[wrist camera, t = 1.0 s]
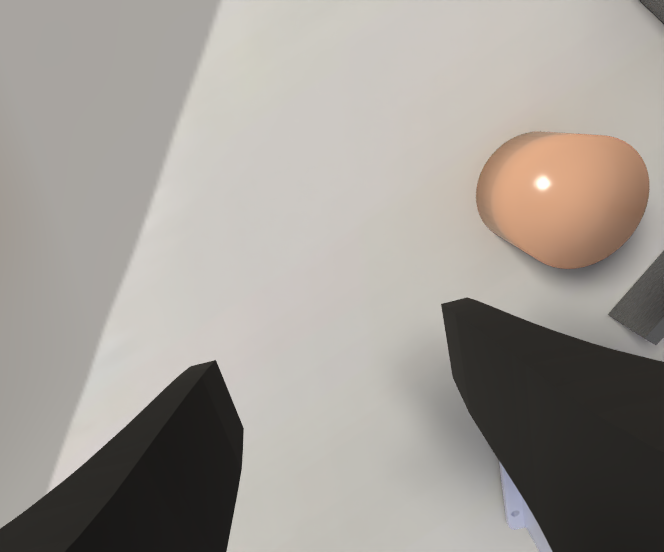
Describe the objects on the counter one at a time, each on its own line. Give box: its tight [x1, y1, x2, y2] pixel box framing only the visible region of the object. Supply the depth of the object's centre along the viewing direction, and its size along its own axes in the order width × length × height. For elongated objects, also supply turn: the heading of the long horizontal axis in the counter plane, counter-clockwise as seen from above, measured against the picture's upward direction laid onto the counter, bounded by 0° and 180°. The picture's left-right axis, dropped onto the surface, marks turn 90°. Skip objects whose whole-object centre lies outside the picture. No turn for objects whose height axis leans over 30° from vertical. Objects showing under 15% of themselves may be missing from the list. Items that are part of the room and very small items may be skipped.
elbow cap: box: [476, 131, 649, 269], centre depth 17 cm, size 5×5×4 cm
